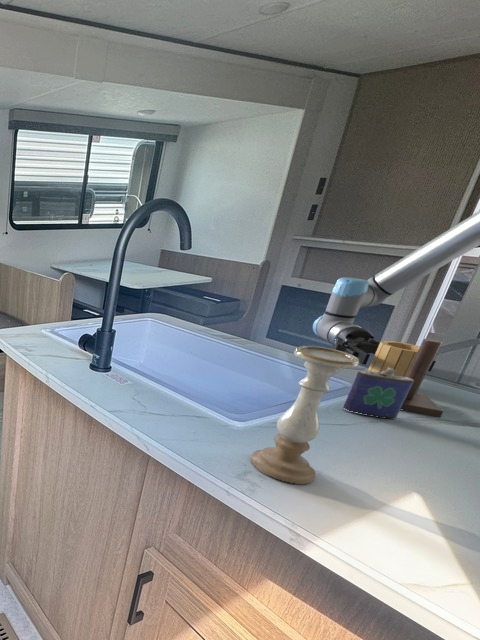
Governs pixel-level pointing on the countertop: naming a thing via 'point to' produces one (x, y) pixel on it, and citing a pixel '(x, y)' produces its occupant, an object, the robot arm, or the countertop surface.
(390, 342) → the wooden container
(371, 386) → the flask
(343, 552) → the countertop surface
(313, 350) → the candle holder
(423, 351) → the stand
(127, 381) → the countertop surface
